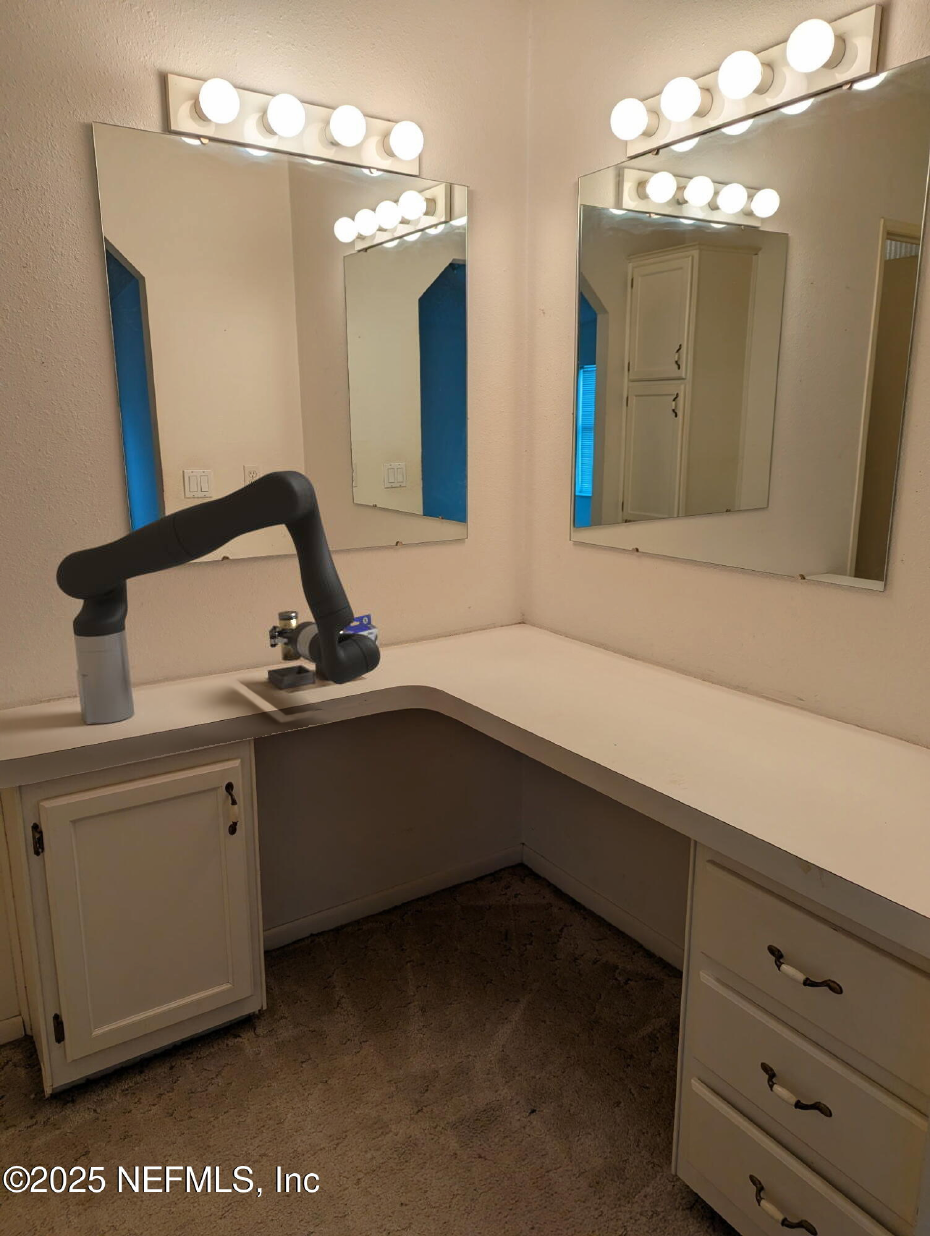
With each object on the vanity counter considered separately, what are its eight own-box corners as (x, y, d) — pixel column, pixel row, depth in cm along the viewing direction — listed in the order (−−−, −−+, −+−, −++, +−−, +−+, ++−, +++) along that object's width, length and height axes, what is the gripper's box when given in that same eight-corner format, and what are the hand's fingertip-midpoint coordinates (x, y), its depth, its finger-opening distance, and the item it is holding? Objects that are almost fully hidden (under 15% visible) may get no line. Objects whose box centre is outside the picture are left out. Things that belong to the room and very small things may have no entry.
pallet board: (287, 700, 175) (286, 681, 174) (263, 684, 187) (262, 667, 186) (368, 685, 185) (367, 667, 184) (341, 670, 197) (340, 654, 196)
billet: (285, 661, 179) (282, 615, 177) (278, 658, 182) (275, 612, 180) (303, 658, 181) (300, 612, 179) (296, 655, 184) (293, 610, 182)
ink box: (346, 671, 196) (343, 622, 194) (338, 669, 198) (336, 621, 195) (379, 660, 205) (377, 614, 203) (372, 659, 207) (370, 612, 204)
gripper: (347, 619, 171) (313, 607, 186) (280, 629, 164) (250, 616, 178) (349, 655, 173) (316, 640, 187) (283, 667, 165) (253, 650, 180)
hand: (284, 628), depth 182 cm, fingers closed on billet, 4 cm apart
